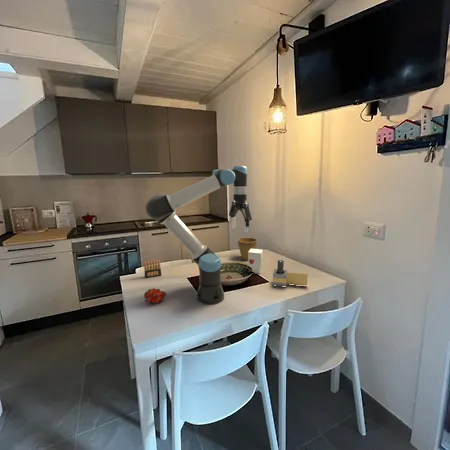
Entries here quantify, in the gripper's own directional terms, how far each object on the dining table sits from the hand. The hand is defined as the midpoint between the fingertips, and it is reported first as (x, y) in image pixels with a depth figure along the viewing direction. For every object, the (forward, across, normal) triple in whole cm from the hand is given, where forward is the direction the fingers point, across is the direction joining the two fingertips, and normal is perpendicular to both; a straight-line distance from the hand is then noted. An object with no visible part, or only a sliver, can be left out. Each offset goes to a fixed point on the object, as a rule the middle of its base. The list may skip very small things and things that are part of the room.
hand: (239, 230), depth 157 cm
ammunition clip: (+35, +40, +42) cm, 68 cm away
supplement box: (+35, +14, -23) cm, 44 cm away
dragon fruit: (+35, +5, +50) cm, 61 cm away
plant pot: (+35, +38, -32) cm, 61 cm away
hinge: (+35, -11, -31) cm, 48 cm away
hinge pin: (+35, -11, -23) cm, 43 cm away
